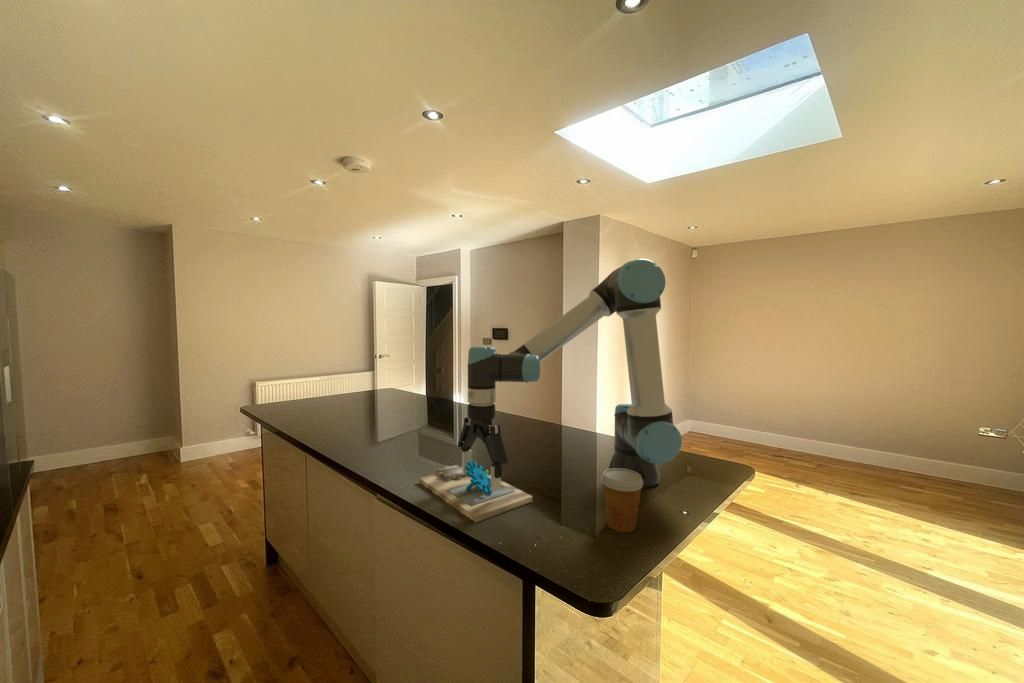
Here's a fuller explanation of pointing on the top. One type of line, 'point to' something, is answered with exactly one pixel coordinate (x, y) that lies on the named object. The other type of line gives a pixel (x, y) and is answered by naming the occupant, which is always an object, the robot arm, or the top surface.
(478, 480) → the gear
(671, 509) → the top surface
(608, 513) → the disposable coffee cup
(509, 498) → the carrier board
